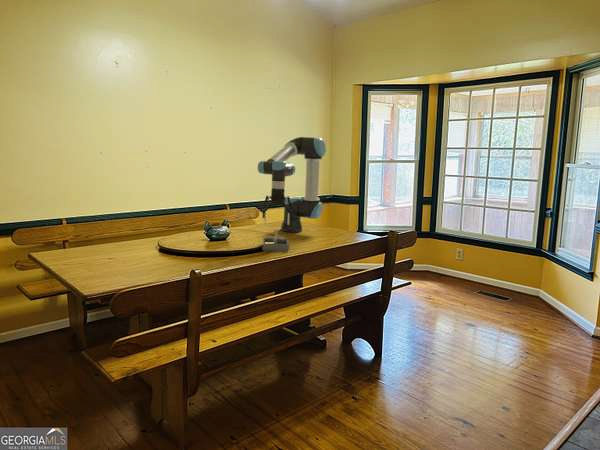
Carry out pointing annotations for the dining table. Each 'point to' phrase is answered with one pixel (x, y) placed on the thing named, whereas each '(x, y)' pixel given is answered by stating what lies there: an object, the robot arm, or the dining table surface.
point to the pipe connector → (275, 237)
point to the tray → (276, 245)
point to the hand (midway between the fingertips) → (276, 223)
